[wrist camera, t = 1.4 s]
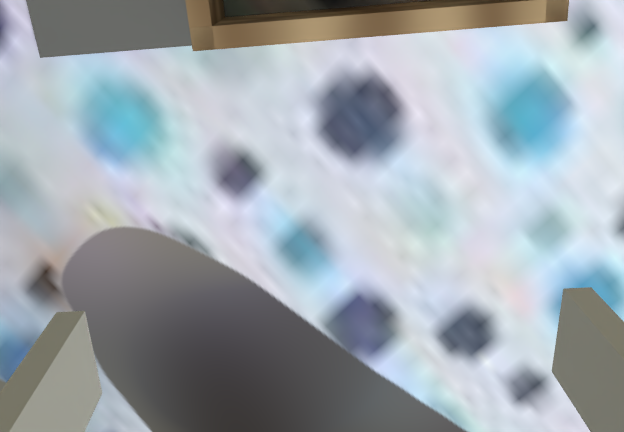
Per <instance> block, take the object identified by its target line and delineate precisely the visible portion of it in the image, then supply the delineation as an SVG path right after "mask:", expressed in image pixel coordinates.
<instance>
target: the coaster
mask: <svg viewBox="0 0 624 432" xmlns="http://www.w3.org/2000/svg"><path fill="white" fill-rule="evenodd" d="M26 1H27V5H28V9H29V14H30V18H31V22H32V26H33V30H34V34H35V38H36V42H37V46H38V50H39V55H40V58H43V57H55V56H67V55H80V54H92V53H104V52H117V51H129V50H141V49H154V48H166V47H179V46H191V45H192V42H191V35H190V29H189V22H188V15H187V8H186V1H185V0H26Z"/></svg>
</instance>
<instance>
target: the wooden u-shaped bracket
mask: <svg viewBox="0 0 624 432" xmlns="http://www.w3.org/2000/svg"><path fill="white" fill-rule="evenodd" d="M185 1H186V8H187V15H188V22H189V29H190V35H191V42H192V49H193V51H201V50H213V49H225V48H238V47H250V46H262V45H275V44H287V43H299V42H312V41H324V40H337V39H349V38H361V37H374V36H386V35H398V34H411V33H423V32H435V31H448V30H460V29H472V28H485V27H497V26H510V25H522V24H534V23H547V22H559V21H567V18H568V6H569V0H432V1H419V2H407V3H394V4H382V5H370V6H357V7H345V8H332V9H320V10H308V11H295V12H283V13H271V14H258V15H246V16H233V17H225V12H224V4H223V0H185Z"/></svg>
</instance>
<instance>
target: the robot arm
mask: <svg viewBox="0 0 624 432" xmlns="http://www.w3.org/2000/svg"><path fill="white" fill-rule="evenodd" d="M552 373H553V374H554V376H555V377H556V379H557V380H558V382H559V383H560V385H561V386H562V388H563V390H564V391H565V393H566V394H567V396H568V397H569V399H570V400H571V402H572V403H573V405H574V407H575V408H576V410H577V411H578V413H579V414H580V416H581V417H582V419H583V421H584V422H585V424H586V425H587V427H588V428H589V430H590V431H591V432H624V322H623V321H622V320H621V319H620V317H619V316H618V315H617V314H616V313H615V312H614V311H613V310H612V309H611V308H610V307H609V306H608V305H607V304H606V303H605V302H604V301H603V299H602V298H601V297H600V296H599V295H598V294H597V293H596V292H595V291H594V290H593V289H592V288H591V287H590V288H569V289H563V295H562V303H561V310H560V317H559V324H558V331H557V338H556V345H555V352H554V360H553V367H552ZM101 395H102V390H101V385H100V380H99V376H98V371H97V366H96V362H95V357H94V352H93V347H92V343H91V338H90V333H89V329H88V324H87V319H86V315H85V311H75V312H56V314H55V315H54V317H53V318H52V320H51V321H50V322H49V324H48V325H47V327H46V328H45V329H44V331H43V332H42V334H41V335H40V337H39V338H38V339H37V341H36V342H35V344H34V345H33V346H32V348H31V349H30V351H29V352H28V353H27V355H26V356H25V358H24V359H23V361H22V362H21V363H20V365H19V366H18V368H17V369H16V370H15V372H14V373H13V375H12V376H11V378H10V379H9V380H8V382H7V383H6V385H5V386H4V387H3V389H2V390H1V392H0V432H84V431H85V429H86V427H87V425H88V423H89V421H90V418H91V416H92V414H93V412H94V410H95V408H96V405H97V403H98V401H99V399H100V397H101Z"/></svg>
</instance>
